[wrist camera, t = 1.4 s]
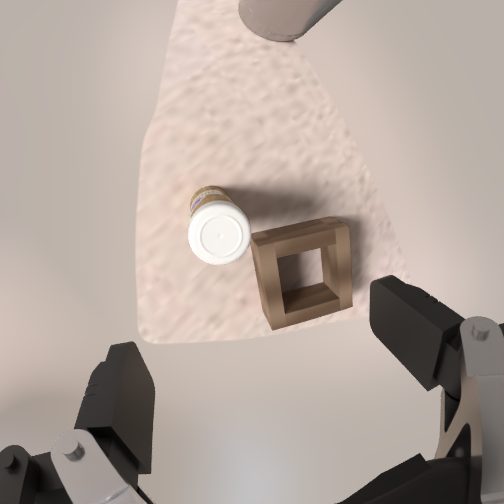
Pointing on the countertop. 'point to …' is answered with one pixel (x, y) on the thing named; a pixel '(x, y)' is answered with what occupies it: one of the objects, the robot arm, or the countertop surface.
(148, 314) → the countertop surface
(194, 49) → the countertop surface
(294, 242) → the frame
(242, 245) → the sprinkles bottle
